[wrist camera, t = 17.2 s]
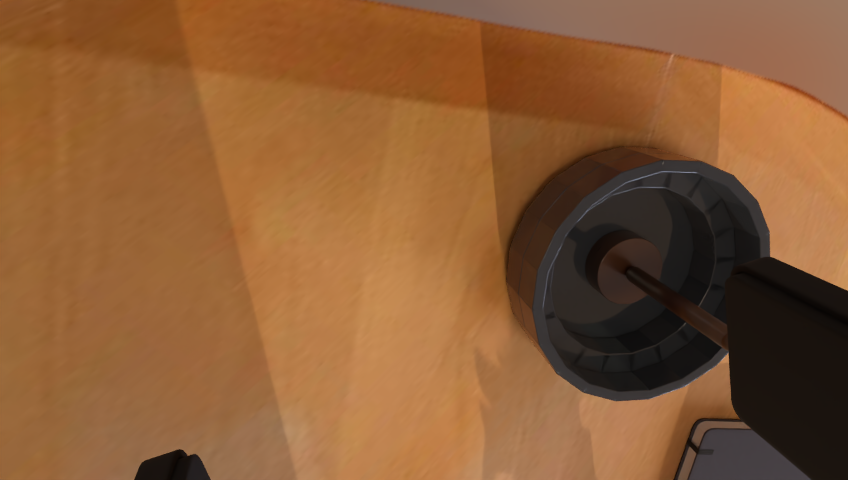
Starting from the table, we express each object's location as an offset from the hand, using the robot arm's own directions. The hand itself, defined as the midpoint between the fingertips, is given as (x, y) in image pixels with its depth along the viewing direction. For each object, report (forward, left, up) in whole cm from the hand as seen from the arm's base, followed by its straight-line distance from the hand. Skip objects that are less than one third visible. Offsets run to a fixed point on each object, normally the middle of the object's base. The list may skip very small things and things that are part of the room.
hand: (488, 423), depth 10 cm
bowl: (+14, +17, -30) cm, 37 cm away
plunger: (+14, +17, -30) cm, 37 cm away
